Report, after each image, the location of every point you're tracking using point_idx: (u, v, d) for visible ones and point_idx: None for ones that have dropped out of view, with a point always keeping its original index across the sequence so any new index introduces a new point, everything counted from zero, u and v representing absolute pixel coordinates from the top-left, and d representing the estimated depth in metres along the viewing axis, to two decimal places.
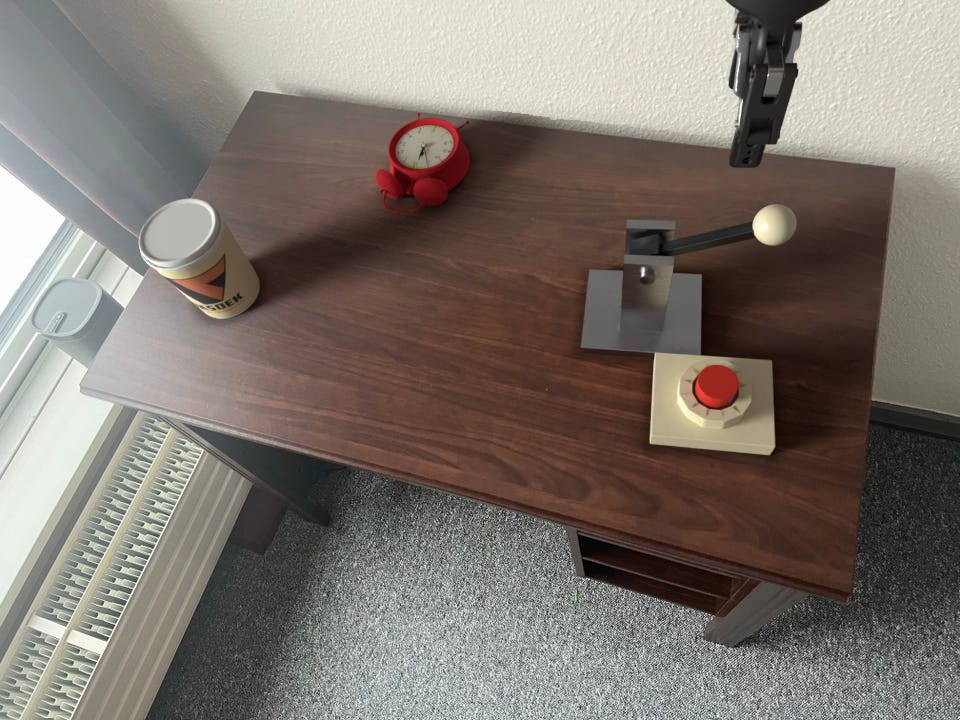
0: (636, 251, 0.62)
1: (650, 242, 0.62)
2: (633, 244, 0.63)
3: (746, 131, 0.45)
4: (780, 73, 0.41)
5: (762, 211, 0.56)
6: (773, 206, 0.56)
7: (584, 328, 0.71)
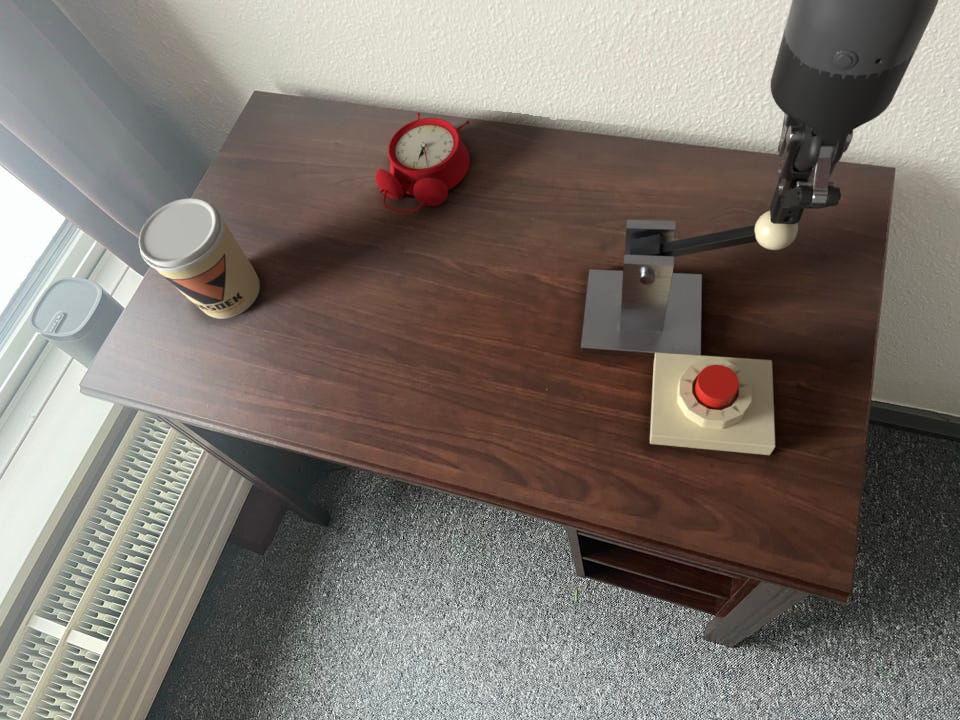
0: (637, 251, 0.62)
1: (651, 242, 0.62)
2: (633, 243, 0.63)
3: (789, 207, 0.50)
4: (822, 202, 0.45)
5: (764, 215, 0.57)
6: None
7: (584, 328, 0.71)
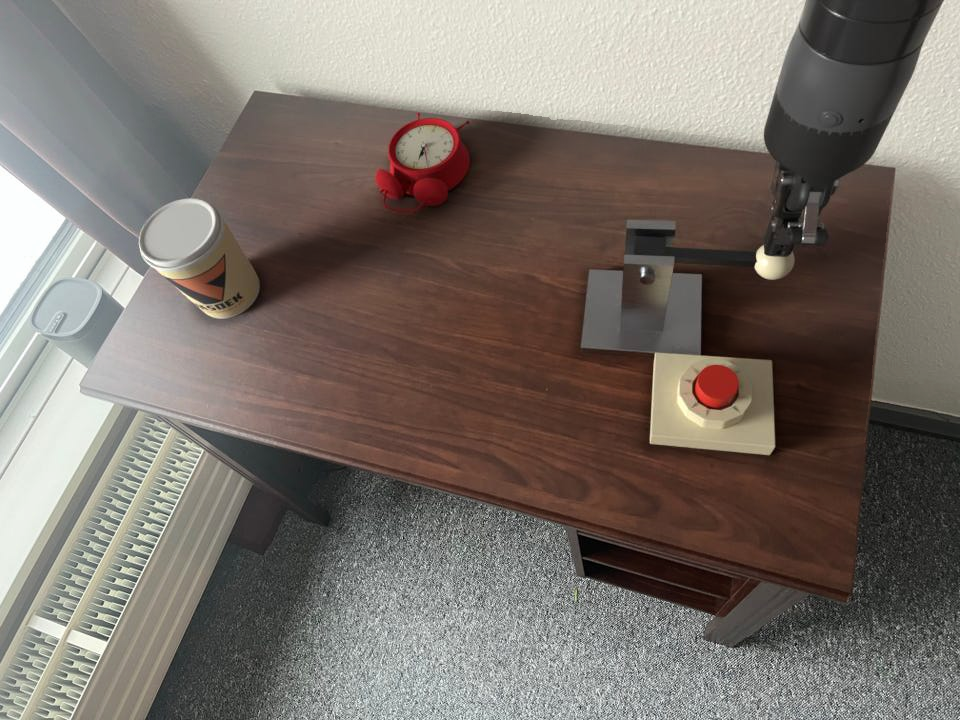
0: (642, 248, 0.62)
1: (657, 243, 0.62)
2: (638, 240, 0.62)
3: None
4: (811, 243, 0.49)
5: None
6: None
7: (584, 328, 0.71)
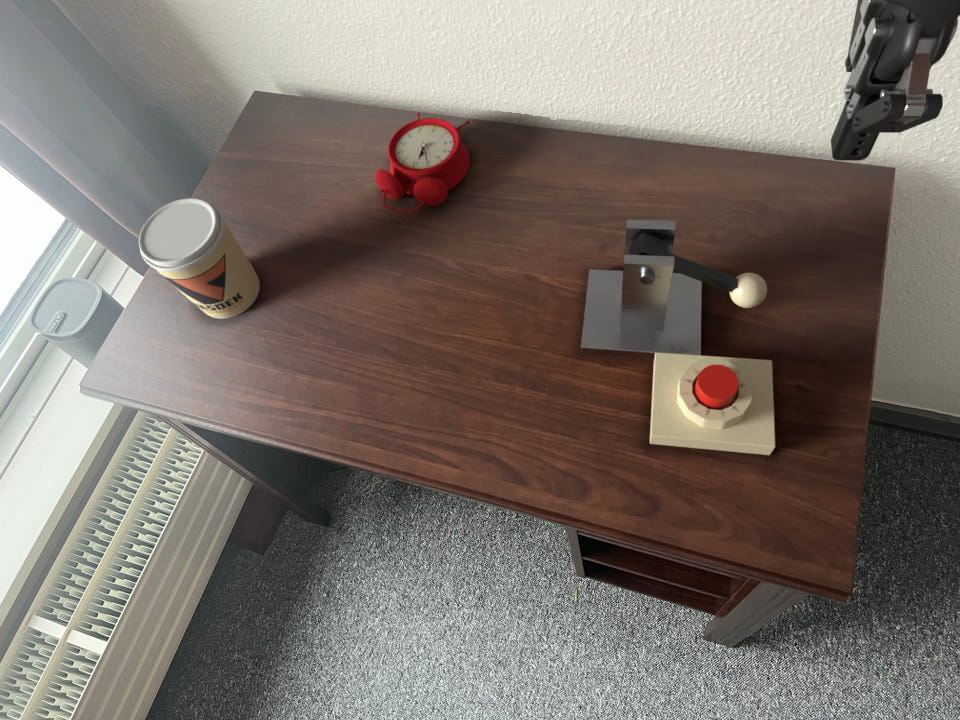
0: (649, 248, 0.62)
1: (661, 246, 0.62)
2: (646, 238, 0.62)
3: (865, 130, 0.39)
4: (918, 114, 0.35)
5: (753, 276, 0.64)
6: (761, 277, 0.65)
7: (584, 328, 0.71)
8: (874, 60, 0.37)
